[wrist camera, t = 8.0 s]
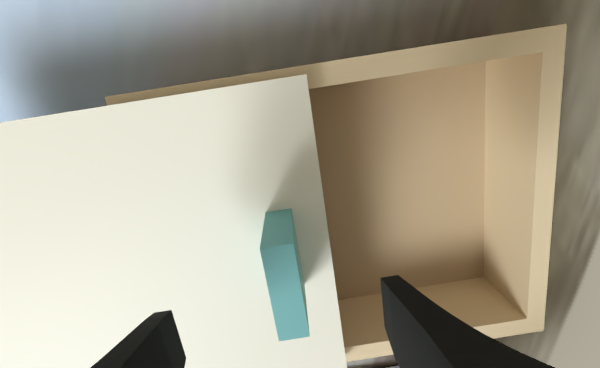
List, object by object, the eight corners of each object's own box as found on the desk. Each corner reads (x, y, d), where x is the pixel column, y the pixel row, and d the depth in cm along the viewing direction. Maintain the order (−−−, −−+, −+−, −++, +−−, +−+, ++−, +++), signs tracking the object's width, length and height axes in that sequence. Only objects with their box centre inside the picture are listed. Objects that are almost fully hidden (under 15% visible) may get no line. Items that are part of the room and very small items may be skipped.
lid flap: (345, 360, 18) (362, 436, 14) (2, 415, 18) (-76, 505, 14) (305, 74, 14) (313, 69, 10) (-145, 146, 14) (-316, 169, 10)
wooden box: (490, 280, 23) (543, 330, 19) (213, 324, 23) (194, 386, 19) (495, 40, 19) (567, 23, 14) (150, 94, 19) (104, 96, 14)
